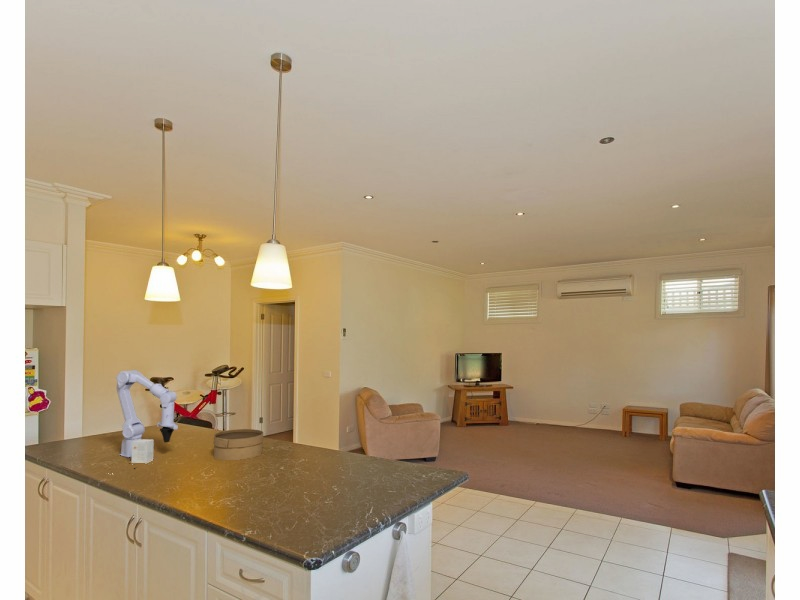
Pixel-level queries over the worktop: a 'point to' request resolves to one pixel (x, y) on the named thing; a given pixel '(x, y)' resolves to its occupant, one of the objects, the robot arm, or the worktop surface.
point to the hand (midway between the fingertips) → (166, 442)
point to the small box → (142, 451)
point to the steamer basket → (238, 444)
